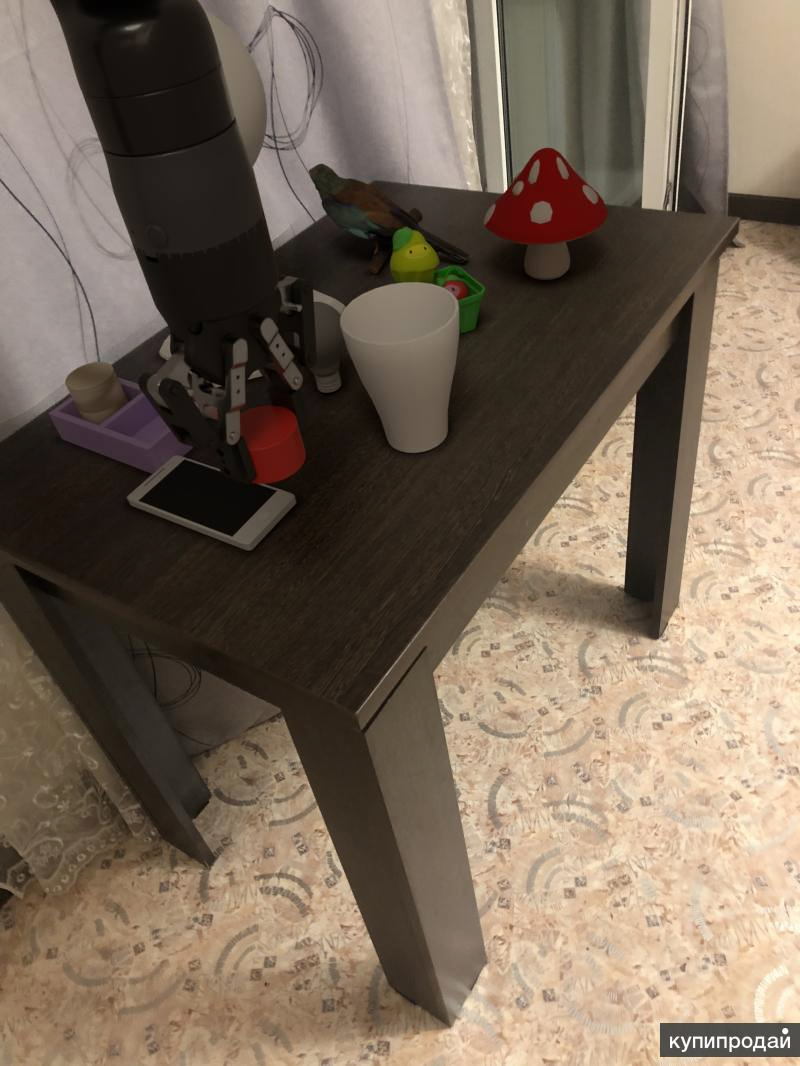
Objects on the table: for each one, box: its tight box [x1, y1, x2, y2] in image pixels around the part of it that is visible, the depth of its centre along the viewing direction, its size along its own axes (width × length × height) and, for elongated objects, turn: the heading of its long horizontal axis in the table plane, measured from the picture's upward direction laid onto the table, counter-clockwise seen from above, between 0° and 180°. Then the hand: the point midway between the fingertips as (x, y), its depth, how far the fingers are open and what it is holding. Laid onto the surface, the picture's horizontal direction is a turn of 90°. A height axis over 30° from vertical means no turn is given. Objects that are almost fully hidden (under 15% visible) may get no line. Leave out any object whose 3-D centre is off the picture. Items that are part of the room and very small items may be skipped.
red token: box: [240, 405, 307, 485], centre depth 56 cm, size 5×5×3 cm
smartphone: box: [126, 455, 297, 551], centre depth 76 cm, size 7×15×1 cm, turn 59°
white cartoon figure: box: [158, 8, 346, 389], centre depth 86 cm, size 20×23×35 cm
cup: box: [340, 282, 460, 454], centre depth 76 cm, size 10×10×14 cm
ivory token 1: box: [64, 361, 124, 413], centre depth 85 cm, size 5×5×3 cm
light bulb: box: [294, 302, 346, 394], centre depth 84 cm, size 6×6×10 cm
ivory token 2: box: [79, 393, 129, 425], centre depth 87 cm, size 5×5×3 cm
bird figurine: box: [308, 163, 470, 275], centre depth 104 cm, size 13×10×20 cm
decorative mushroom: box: [483, 147, 609, 281], centre depth 94 cm, size 14×14×15 cm
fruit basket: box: [389, 227, 486, 335], centre depth 90 cm, size 11×9×11 cm
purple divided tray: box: [48, 376, 199, 475], centre depth 85 cm, size 8×15×4 cm, turn 57°
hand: (268, 454), depth 57 cm, fingers closed on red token, 5 cm apart
